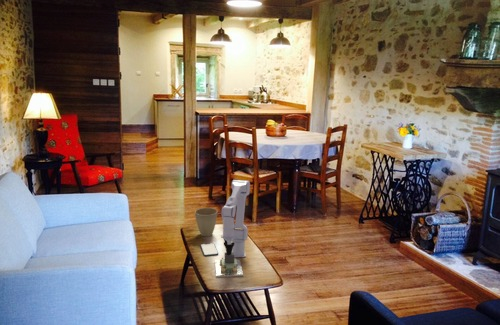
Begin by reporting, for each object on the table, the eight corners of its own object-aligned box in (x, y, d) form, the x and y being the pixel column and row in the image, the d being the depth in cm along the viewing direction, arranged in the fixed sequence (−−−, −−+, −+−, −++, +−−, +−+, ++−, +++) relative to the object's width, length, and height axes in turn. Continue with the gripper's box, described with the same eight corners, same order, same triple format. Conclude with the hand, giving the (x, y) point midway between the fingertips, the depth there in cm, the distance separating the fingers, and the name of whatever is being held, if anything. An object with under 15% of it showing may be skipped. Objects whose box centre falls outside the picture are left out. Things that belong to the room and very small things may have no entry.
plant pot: (193, 231, 280) (193, 208, 277) (215, 229, 284) (215, 207, 281) (196, 239, 266) (196, 215, 263) (219, 237, 270) (219, 214, 267)
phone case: (219, 256, 244) (214, 245, 259) (219, 253, 243) (214, 242, 258) (203, 257, 241) (199, 246, 256) (203, 255, 241) (199, 244, 256)
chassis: (215, 262, 234) (214, 254, 233) (239, 261, 236) (239, 253, 235) (216, 277, 216) (216, 269, 216) (243, 276, 218) (243, 268, 217)
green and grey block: (221, 259, 230) (221, 250, 229) (235, 259, 231) (235, 249, 230) (222, 268, 220) (222, 258, 219) (237, 268, 221) (237, 257, 219)
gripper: (220, 223, 228) (220, 246, 231) (221, 233, 214) (221, 257, 217) (233, 223, 229) (233, 246, 231) (235, 232, 215) (235, 257, 217)
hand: (228, 251), depth 224 cm, fingers open, 7 cm apart
